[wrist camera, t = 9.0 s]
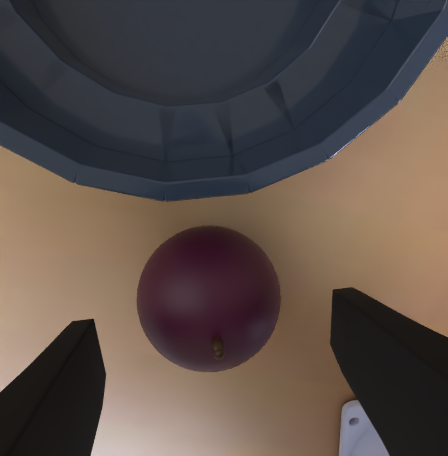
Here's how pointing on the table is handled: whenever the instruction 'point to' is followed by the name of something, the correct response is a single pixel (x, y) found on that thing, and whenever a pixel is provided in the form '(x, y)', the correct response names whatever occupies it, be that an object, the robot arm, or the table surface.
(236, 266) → the plum
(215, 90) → the bowl
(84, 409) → the robot arm
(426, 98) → the table surface
